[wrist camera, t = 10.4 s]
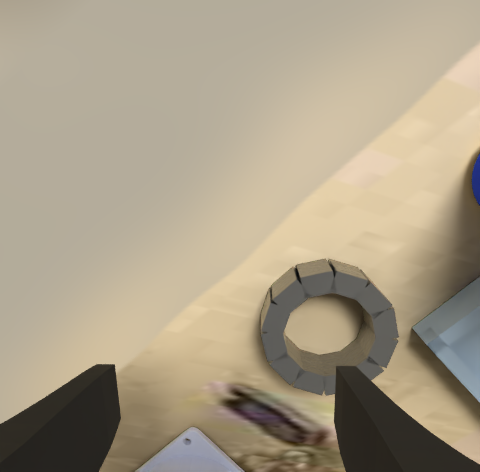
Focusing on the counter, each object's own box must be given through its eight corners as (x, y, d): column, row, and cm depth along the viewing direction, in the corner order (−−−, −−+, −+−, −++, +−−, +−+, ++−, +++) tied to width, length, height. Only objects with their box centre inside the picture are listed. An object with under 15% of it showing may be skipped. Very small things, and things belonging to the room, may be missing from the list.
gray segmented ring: (316, 392, 24) (321, 416, 21) (237, 313, 23) (235, 331, 20) (409, 321, 22) (424, 340, 20) (329, 235, 21) (337, 245, 19)
